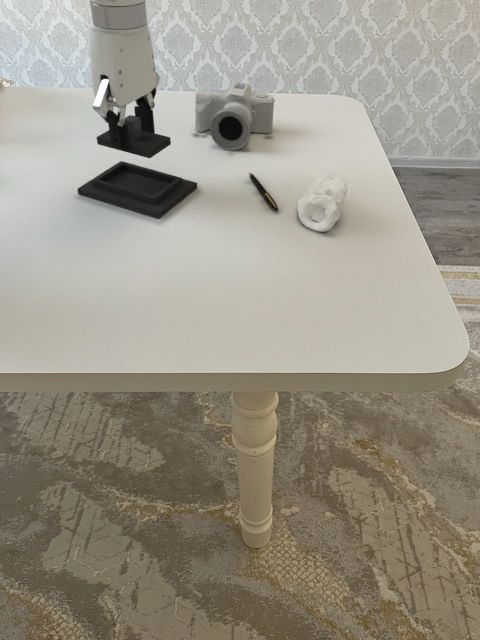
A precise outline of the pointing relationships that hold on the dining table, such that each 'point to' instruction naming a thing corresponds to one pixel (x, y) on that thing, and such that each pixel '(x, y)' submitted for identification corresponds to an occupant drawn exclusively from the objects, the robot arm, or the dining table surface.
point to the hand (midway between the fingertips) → (133, 139)
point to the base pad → (138, 189)
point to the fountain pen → (264, 193)
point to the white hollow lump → (322, 203)
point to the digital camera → (233, 114)
